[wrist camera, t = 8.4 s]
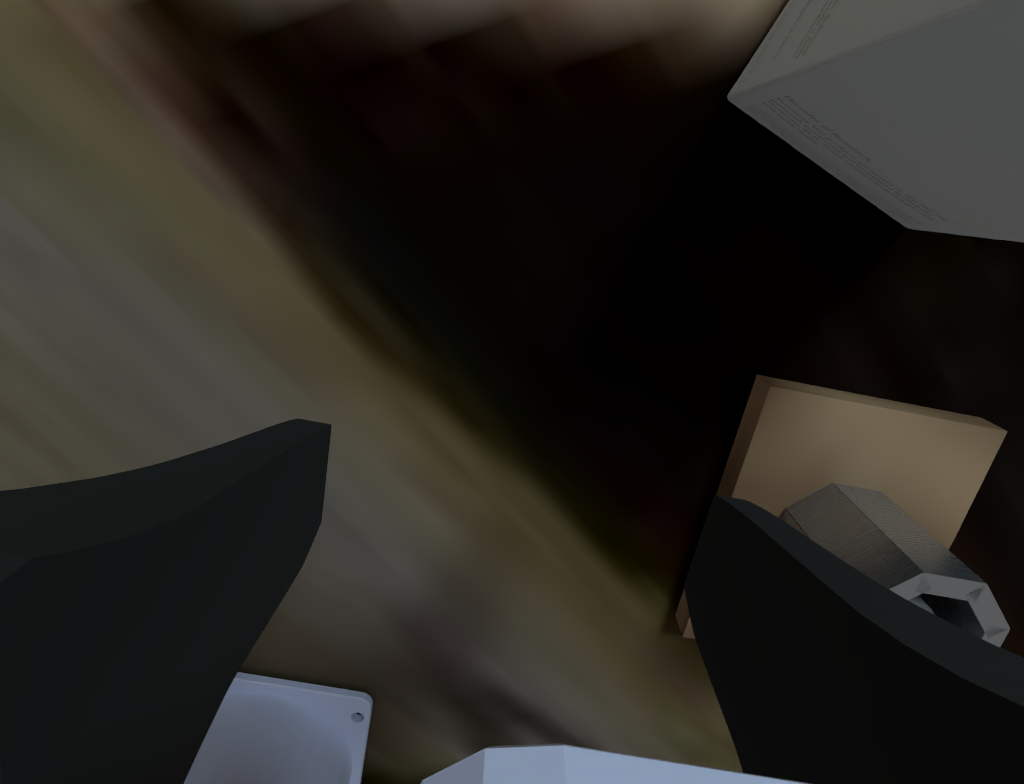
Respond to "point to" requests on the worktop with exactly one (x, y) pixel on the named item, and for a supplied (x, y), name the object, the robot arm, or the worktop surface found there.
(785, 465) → the shaft block
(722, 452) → the worktop surface
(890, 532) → the tube
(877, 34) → the supplement box
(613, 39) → the worktop surface
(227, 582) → the robot arm
